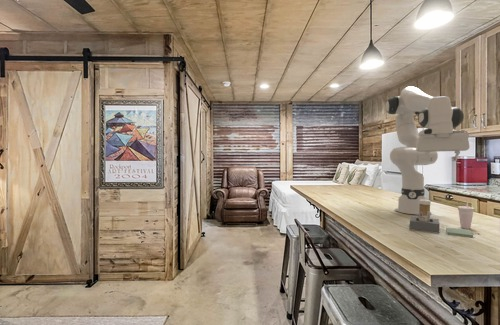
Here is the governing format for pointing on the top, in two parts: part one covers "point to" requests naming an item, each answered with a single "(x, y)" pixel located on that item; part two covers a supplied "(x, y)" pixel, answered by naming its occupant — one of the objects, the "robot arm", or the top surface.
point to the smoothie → (465, 216)
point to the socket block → (424, 225)
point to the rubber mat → (459, 232)
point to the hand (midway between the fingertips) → (442, 161)
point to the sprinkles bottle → (424, 210)
